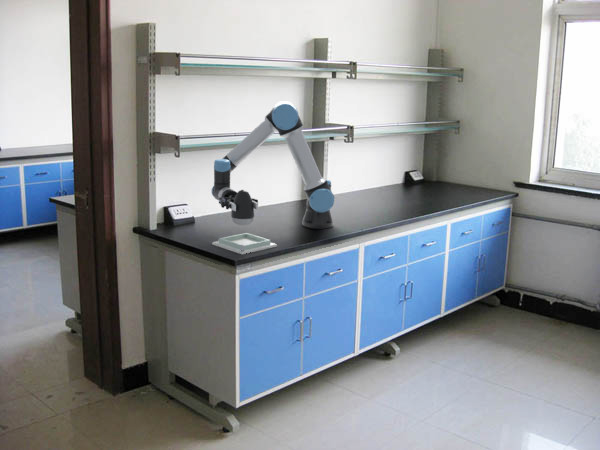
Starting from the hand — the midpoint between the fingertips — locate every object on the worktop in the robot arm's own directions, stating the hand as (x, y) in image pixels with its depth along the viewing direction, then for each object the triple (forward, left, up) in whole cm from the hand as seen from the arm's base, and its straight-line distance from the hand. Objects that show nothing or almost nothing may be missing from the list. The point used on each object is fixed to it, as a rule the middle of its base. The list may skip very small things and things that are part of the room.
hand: (246, 207), depth 282 cm
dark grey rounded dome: (+1, -4, -9) cm, 10 cm away
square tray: (0, -3, -18) cm, 18 cm away
